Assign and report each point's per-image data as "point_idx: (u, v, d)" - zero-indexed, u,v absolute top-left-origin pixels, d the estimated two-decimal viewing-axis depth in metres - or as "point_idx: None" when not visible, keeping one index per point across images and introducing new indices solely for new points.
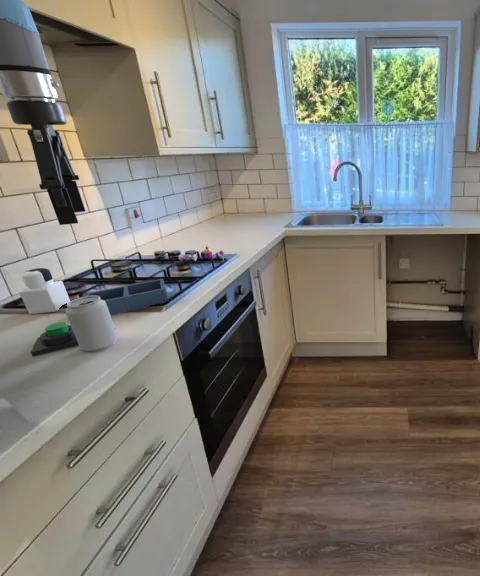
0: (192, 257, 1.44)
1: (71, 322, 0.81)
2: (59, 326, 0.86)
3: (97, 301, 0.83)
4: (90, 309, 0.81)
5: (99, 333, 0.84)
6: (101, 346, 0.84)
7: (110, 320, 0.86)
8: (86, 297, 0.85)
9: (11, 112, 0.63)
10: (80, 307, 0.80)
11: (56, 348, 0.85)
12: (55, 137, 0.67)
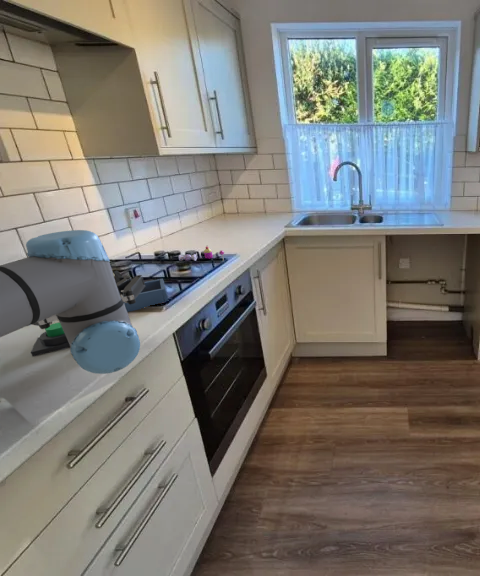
0: (192, 257, 1.44)
1: None
2: (59, 326, 0.86)
3: None
4: None
5: None
6: None
7: None
8: None
9: None
10: None
11: (56, 348, 0.85)
12: None
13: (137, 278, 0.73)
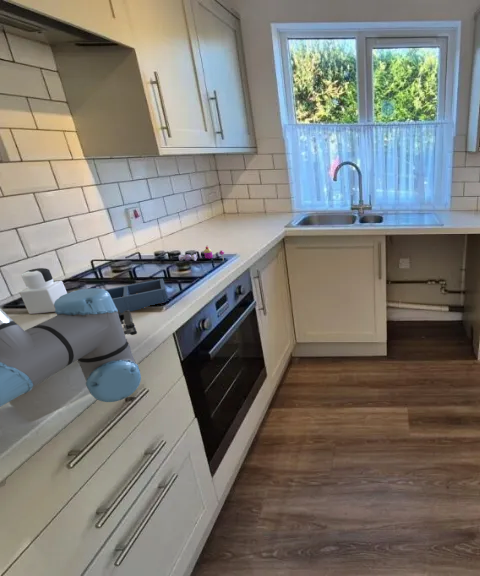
0: (192, 257, 1.44)
1: None
2: None
3: None
4: None
5: None
6: None
7: None
8: None
9: None
10: None
11: None
12: None
13: (127, 313, 0.86)
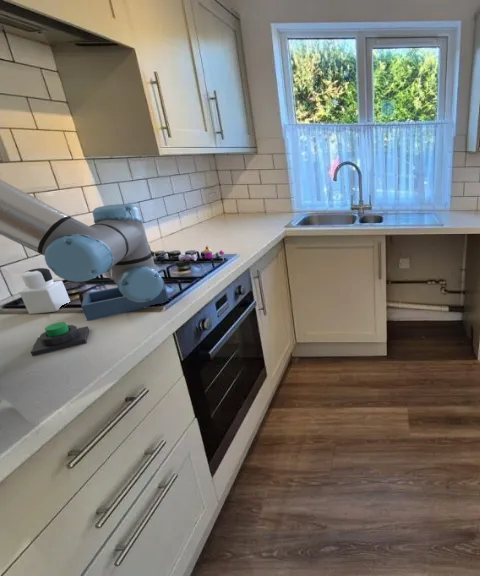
0: (192, 257, 1.44)
1: None
2: (59, 326, 0.86)
3: None
4: None
5: None
6: None
7: None
8: None
9: None
10: None
11: (56, 348, 0.85)
12: None
13: None
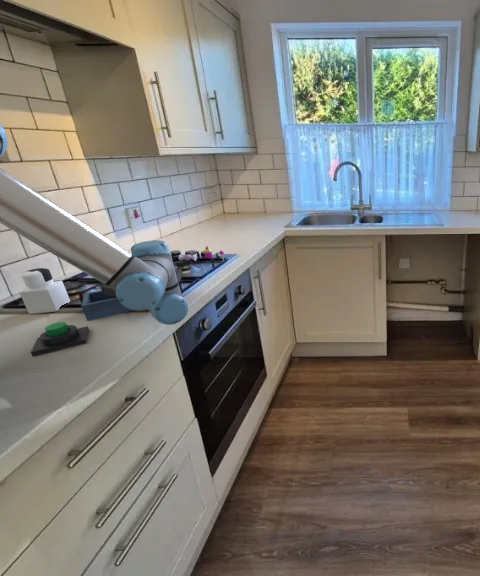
0: (192, 257, 1.44)
1: None
2: (59, 326, 0.86)
3: None
4: None
5: None
6: None
7: None
8: None
9: None
10: None
11: (56, 348, 0.85)
12: None
13: (178, 269, 1.08)
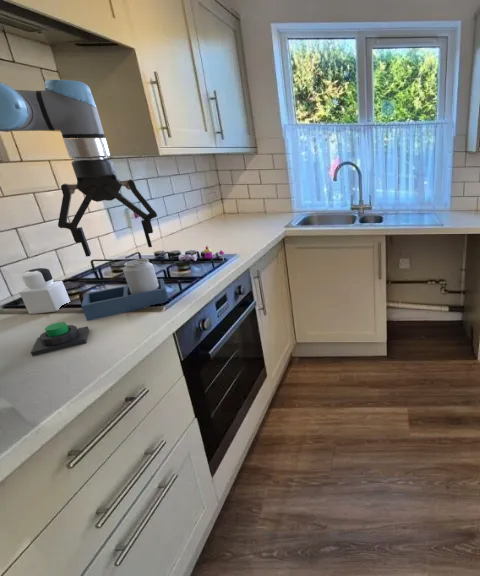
0: (192, 257, 1.44)
1: (127, 278, 1.04)
2: (59, 326, 0.86)
3: (147, 262, 1.06)
4: (142, 268, 1.04)
5: (148, 288, 1.06)
6: None
7: (156, 278, 1.09)
8: (137, 260, 1.08)
9: (103, 168, 0.81)
10: (135, 266, 1.03)
11: (56, 348, 0.85)
12: None
13: (61, 219, 0.81)
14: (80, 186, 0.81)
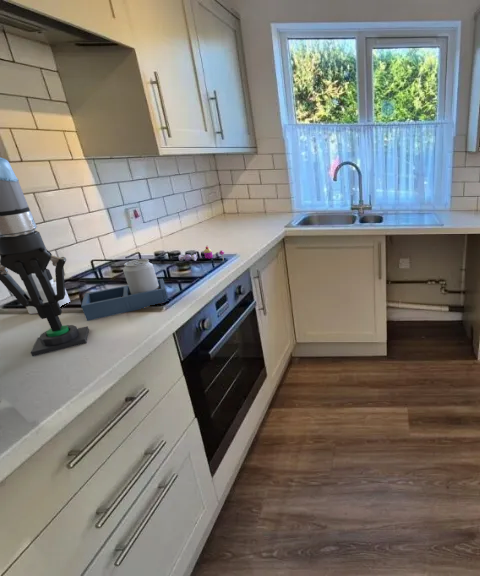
0: (192, 257, 1.44)
1: (127, 278, 1.04)
2: (60, 330, 0.87)
3: (147, 262, 1.06)
4: (142, 268, 1.04)
5: (148, 288, 1.06)
6: None
7: (156, 278, 1.09)
8: (137, 260, 1.08)
9: (27, 243, 0.77)
10: (135, 266, 1.03)
11: (56, 348, 0.85)
12: None
13: (20, 299, 0.81)
14: (3, 262, 0.78)
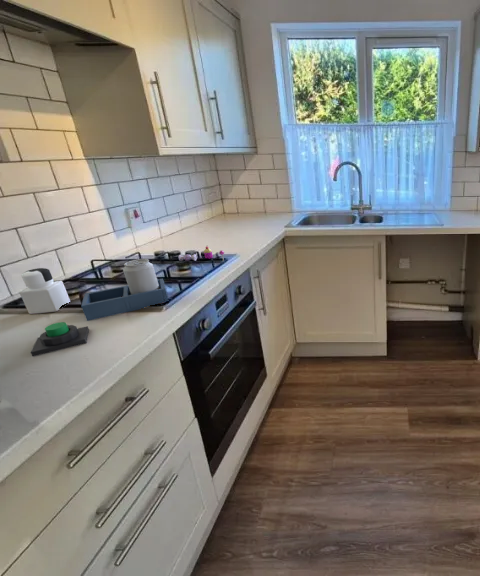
0: (192, 257, 1.44)
1: (127, 278, 1.04)
2: (59, 326, 0.86)
3: (147, 262, 1.06)
4: (142, 268, 1.04)
5: (148, 288, 1.06)
6: None
7: (156, 278, 1.09)
8: (137, 260, 1.08)
9: None
10: (135, 266, 1.03)
11: (56, 348, 0.85)
12: None
13: None
14: None
